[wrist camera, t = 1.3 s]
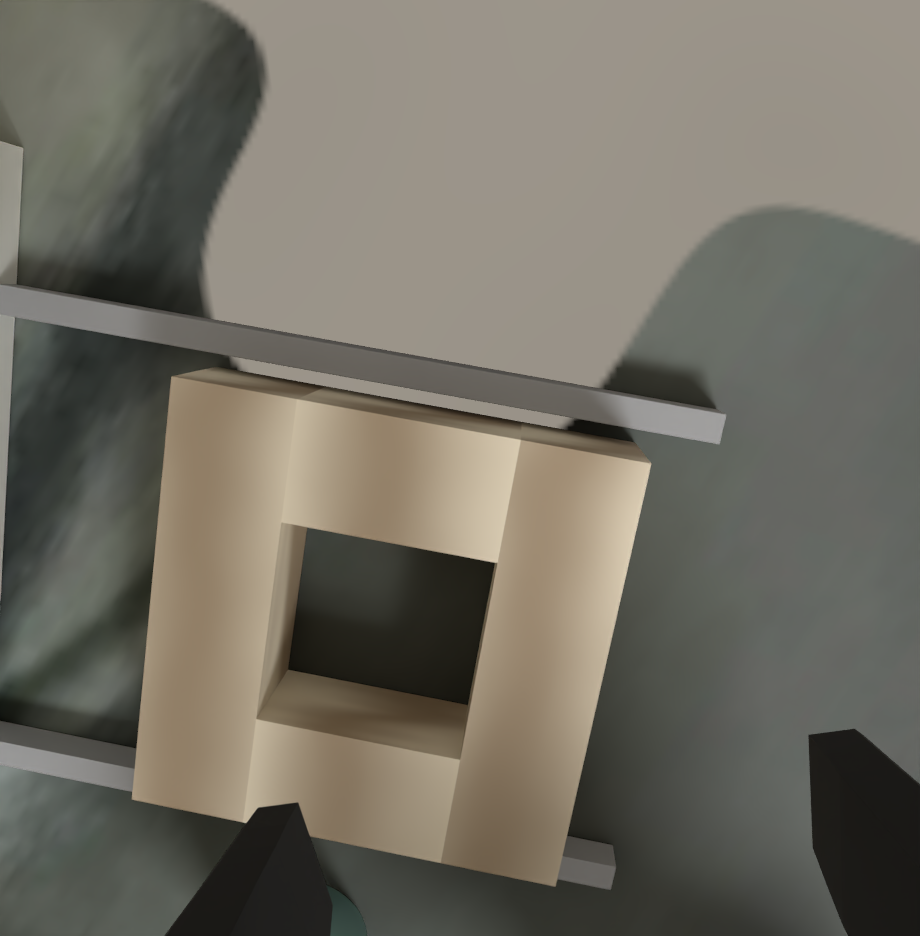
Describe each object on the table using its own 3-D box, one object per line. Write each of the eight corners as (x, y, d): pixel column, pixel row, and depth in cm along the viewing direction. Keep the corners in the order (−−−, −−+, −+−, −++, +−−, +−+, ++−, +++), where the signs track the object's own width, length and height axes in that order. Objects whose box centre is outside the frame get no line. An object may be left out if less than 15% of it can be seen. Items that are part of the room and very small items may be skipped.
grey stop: (750, 272, 21) (836, 261, 15) (583, 965, 26) (600, 1158, 20) (-81, 129, 22) (-297, 69, 16) (-99, 822, 27) (-271, 967, 21)
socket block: (635, 442, 22) (651, 463, 20) (552, 818, 25) (555, 886, 22) (216, 366, 23) (171, 376, 20) (177, 742, 26) (131, 799, 23)
